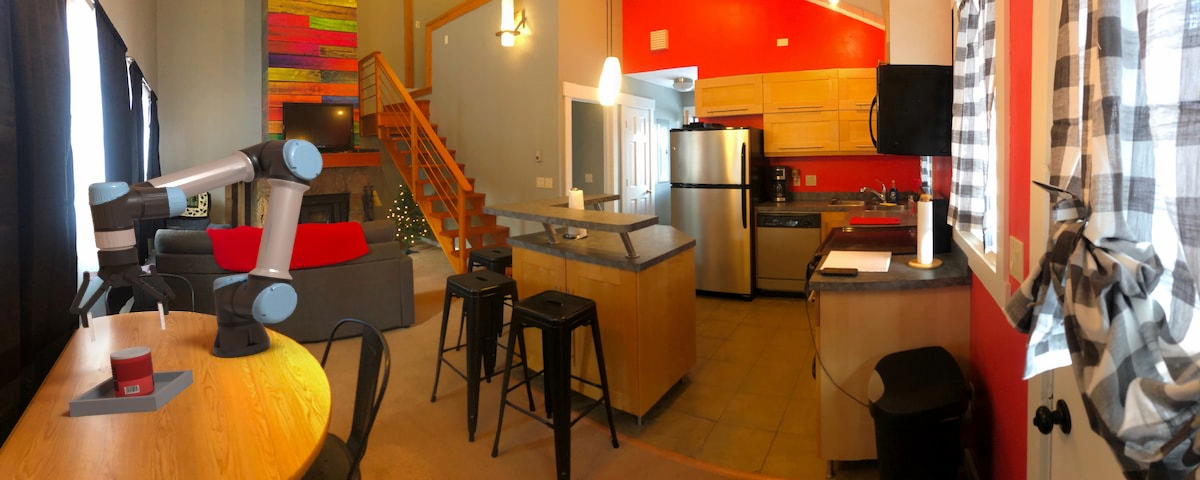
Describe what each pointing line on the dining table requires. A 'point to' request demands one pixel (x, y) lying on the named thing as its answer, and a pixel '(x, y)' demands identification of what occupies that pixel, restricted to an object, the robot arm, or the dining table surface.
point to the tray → (106, 402)
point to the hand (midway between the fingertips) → (129, 334)
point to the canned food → (132, 372)
